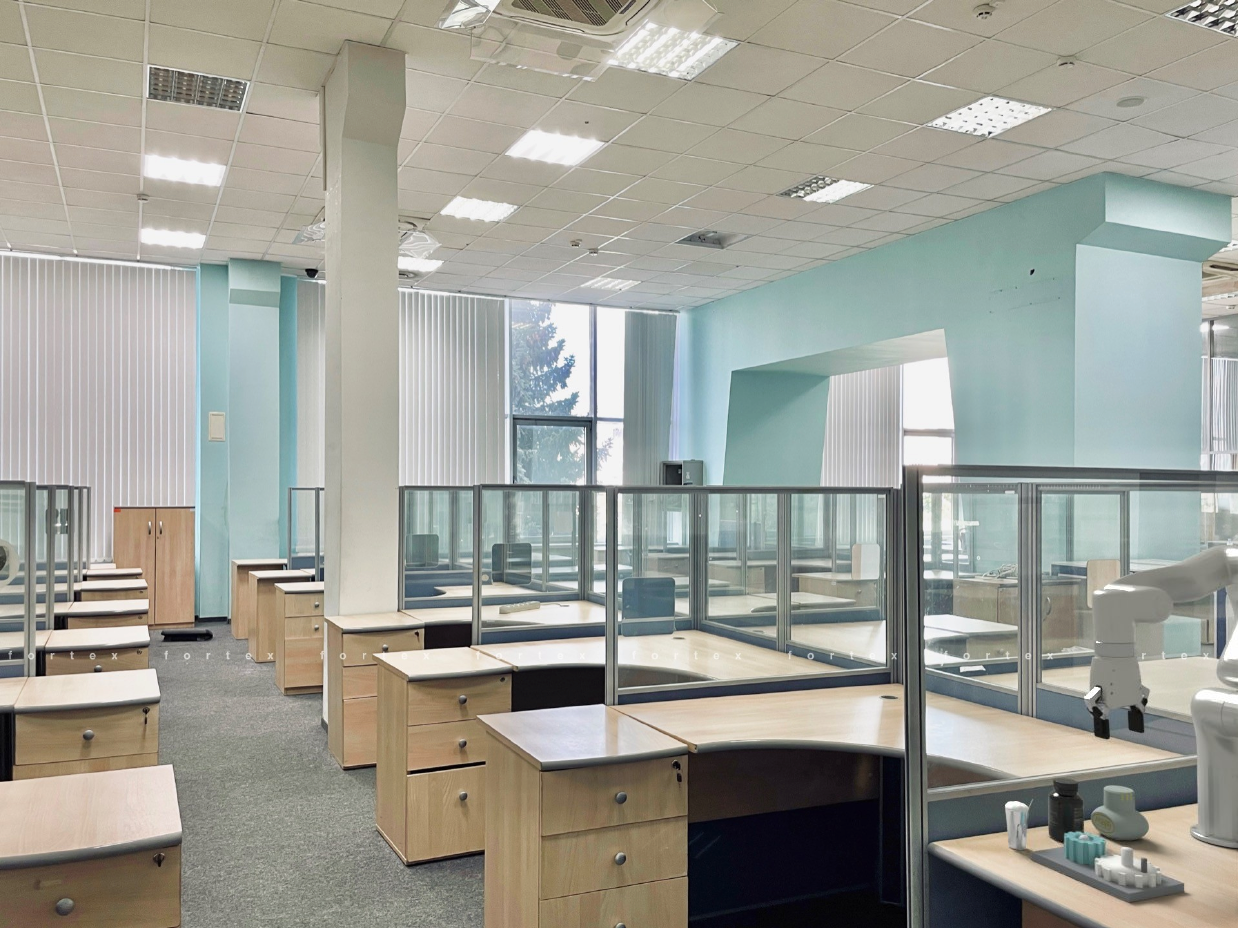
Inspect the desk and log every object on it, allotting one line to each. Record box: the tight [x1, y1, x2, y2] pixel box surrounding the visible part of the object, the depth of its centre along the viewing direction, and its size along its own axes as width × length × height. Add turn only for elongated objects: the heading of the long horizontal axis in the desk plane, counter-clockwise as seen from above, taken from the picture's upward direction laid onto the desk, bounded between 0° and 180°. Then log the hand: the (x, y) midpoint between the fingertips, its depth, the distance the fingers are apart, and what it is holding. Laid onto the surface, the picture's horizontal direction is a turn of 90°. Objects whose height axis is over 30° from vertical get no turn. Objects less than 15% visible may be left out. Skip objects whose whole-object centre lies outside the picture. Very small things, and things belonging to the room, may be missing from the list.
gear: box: [1063, 832, 1107, 866], centre depth 183 cm, size 7×7×4 cm
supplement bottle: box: [1047, 777, 1085, 843], centre depth 199 cm, size 7×7×12 cm
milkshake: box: [1004, 798, 1034, 851], centre depth 193 cm, size 4×5×10 cm
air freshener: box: [1090, 784, 1150, 841], centre depth 201 cm, size 11×8×10 cm
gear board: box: [1030, 835, 1185, 903], centre depth 179 cm, size 14×22×6 cm, turn 22°
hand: (1119, 734), depth 191 cm, fingers open, 9 cm apart
